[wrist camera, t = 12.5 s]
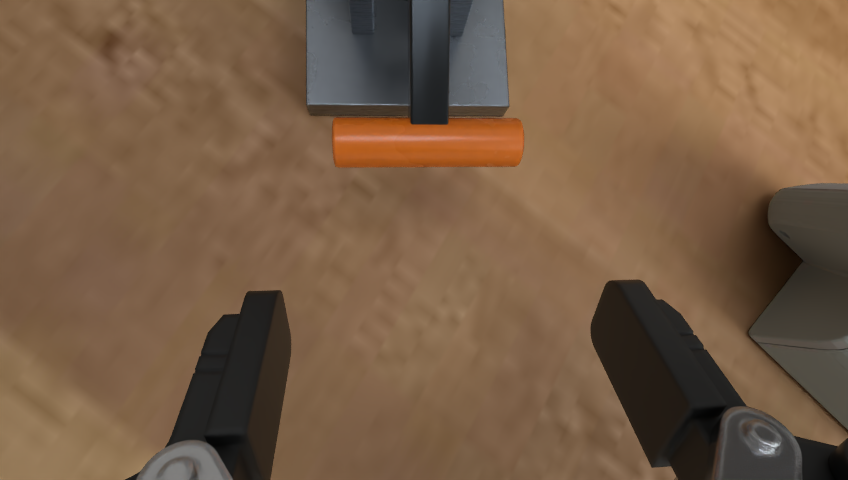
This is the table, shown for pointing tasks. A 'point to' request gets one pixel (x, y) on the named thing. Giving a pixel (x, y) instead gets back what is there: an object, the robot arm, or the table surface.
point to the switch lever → (427, 113)
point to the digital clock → (812, 294)
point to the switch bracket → (400, 58)
